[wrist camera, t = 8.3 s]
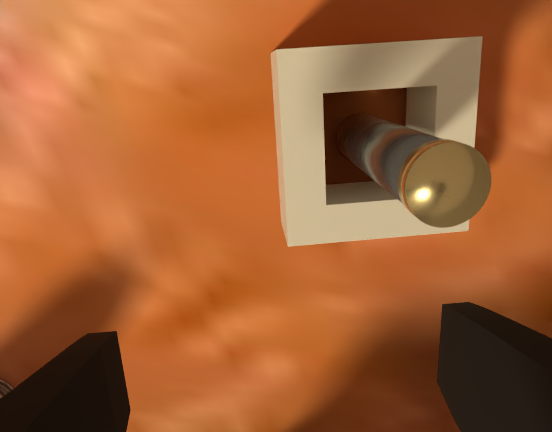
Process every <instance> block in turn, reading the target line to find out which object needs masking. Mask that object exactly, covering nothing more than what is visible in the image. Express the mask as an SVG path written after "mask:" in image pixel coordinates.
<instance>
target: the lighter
mask: <svg viewBox="0 0 552 432" xmlns="http://www.w3.org/2000/svg"><path fill="white" fill-rule="evenodd" d="M13 389H14V388H13V387H12V386H10V385H9V384H8V383H7V382H5V381H3V380H1V379H0V398H2V397H3V396H5V395H6V394H7V393H9V392H10V391H11V390H13Z"/></svg>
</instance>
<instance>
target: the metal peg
mask: <svg viewBox="0 0 552 432" xmlns="http://www.w3.org/2000/svg"><path fill="white" fill-rule="evenodd" d="M336 144H337V147H338V149H339V151H340V152H341V153H342V155H344V156H345V157H346V158H347V159H349V160H350V161H351V162H352V163H353V164H355V165H356V166H357V167H358V168H360V169H361V170H362V171H363V172H365V173H366V174H367V175H368V176H369V177H371V178H372V179H373V180H374V181H376V182H377V183H378V184H379V185H380V186H382V187H383V188H384V189H385V190H387V191H388V192H389V193H390V194H392V195H393V196H394V197H395V198H396V199H398V200H399V201H400V202H401V203H403V205H404V206H405V208H406V209H407V210H408V211H409V212H410V213H412V214H413V215H414V216H415V217H417V218H418V219H419V220H420V221H422V222H423V223H425V224H427V225H430V226H433V227H439V228H447V227H453V226H457V225H459V224H462V223H464V222H466V221H467V220H469V219H470V218H472V217H473V216H474V215H475V214H476V213H477V212H478V211H479V210H480V209H481V207H482V206H483V205H484V203H485V201H486V199H487V197H488V195H489V192H490V187H491V171H490V167H489V165H488V162H487V161H486V159H485V157H484V156H483V155H482V154H481V153H480V152H479V151H478V150H476V149H475V148H473V147H471V146H469V145H466V144H463V143H460V142H457V141H454V140H449V139H441V138H438V137H435V136H432V135H429V134H426V133H423V132H420V131H417V130H414V129H411V128H408V127H405V126H402V125H399V124H396V123H393V122H390V121H387V120H384V119H381V118H378V117H375V116H372V115H369V114H366V113H355V114H352V115H350V116H348V117H347V118H345V119H344V120H343V121H342V122H341V124H340V125H339V127H338V129H337V132H336Z"/></svg>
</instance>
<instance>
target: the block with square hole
mask: <svg viewBox="0 0 552 432" xmlns="http://www.w3.org/2000/svg"><path fill="white" fill-rule="evenodd" d="M482 37H483V36H479V37H463V38H447V39H432V40H416V41H401V42H385V43H369V44H354V45H338V46H323V47H307V48H291V49H276V50H275V51H273V52H272V53H271V67H272V83H273V99H274V115H275V131H276V147H277V163H278V178H279V194H280V210H281V223H282V226H283V230H284V233H285V237H286V241H287V244H288V246H299V245H311V244H322V243H334V242H345V241H357V240H368V239H380V238H391V237H403V236H414V235H425V234H437V233H448V232H460V231H468V228H469V220H467V221H466V222H464V223H462V224H459V225H457V226H453V227H447V228H439V227H433V226H430V225H427V224H425V223H423V222H422V221H420V220H419V219H418V218H417V217H415V216H414V215H413V214H412V213H410V212H409V211H408V210H407V209H406V208H405V206H404V205H403V203H401V202H400V201H399V200H398V199H396V198H395V197H394V196H393V195H392V194H390V193H389V192H388V191H387V190H385V189H384V188H383V187H382V186H380V185H379V184H378V183H377V182H376V181H366V182H354V183H342V184H329V185H326V182H325V148H324V115H323V93H335V92H349V91H363V90H378V89H392V88H406V87H407V92H406V127H408V128H411V129H414V130H417V131H420V132H423V133H426V134H429V135H432V136H435V137H438V138H441V139H449V140H454V141H457V142H460V143H463V144H466V145H469V146H471V147H473V148H474V147H475V133H476V119H477V106H478V92H479V78H480V65H481V51H482Z"/></svg>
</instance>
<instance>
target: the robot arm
mask: <svg viewBox="0 0 552 432" xmlns="http://www.w3.org/2000/svg"><path fill="white" fill-rule="evenodd" d="M437 383H438V385H439V387H440V389H441V392H442V394H443V396H444V398H445V401H446V403H447V405H448V407H449V409H450V411H451V413H452V416H453V418H454V420H455V422H456V424H457V425H458V427H459V429H460V430H461V432H552V339H551V338H549V337H547V336H545V335H543V334H541V333H538V332H536V331H534V330H532V329H530V328H528V327H526V326H523V325H521V324H519V323H517V322H515V321H513V320H511V319H508V318H506V317H504V316H502V315H500V314H497V313H495V312H493V311H491V310H488V309H486V308H484V307H481V306H479V305H476V304H473V303H470V302H464V303H452V304H442V318H441V332H440V346H439V361H438V375H437ZM129 415H130V405H129V399H128V393H127V388H126V382H125V376H124V371H123V365H122V359H121V354H120V348H119V343H118V337H117V331H113V332H101V333H89V334H86V335H85V336H83V337H82V338H80V339H79V340H77V341H76V342H75V343H73V344H72V345H70V346H69V347H68V348H66V349H65V350H64V351H63V352H61V353H60V354H59V355H57V356H56V357H55V358H53V359H52V360H51V361H50V362H48V363H47V364H46V365H44V366H43V367H42V368H40V369H39V370H38V371H36V372H35V373H34V374H33V375H31V376H30V377H29V378H27V379H26V380H25V381H23V382H22V383H21V384H19V385H18V386H17V387H15V388H14V389H13V390H11V391H10V392H9V393H7V394H6V395H5V396H3V397H2V398H0V432H126V430H127V425H128V420H129Z"/></svg>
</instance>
